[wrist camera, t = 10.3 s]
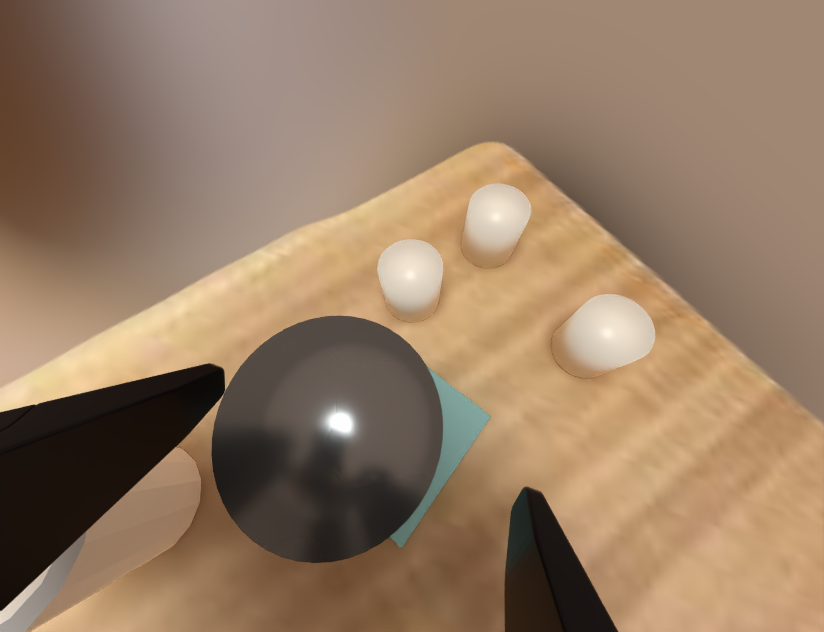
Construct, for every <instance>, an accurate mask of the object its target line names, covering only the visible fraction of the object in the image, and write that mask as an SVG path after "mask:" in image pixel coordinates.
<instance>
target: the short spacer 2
mask: <svg viewBox="0 0 824 632" xmlns="http://www.w3.org/2000/svg"><path fill="white" fill-rule="evenodd" d="M654 341H655V329H654V325H653V322H652V320H651V318H650V317H649V315H648V314H647V313H646V311H645V310H644V309H643V308H642V307H641V306H640V305H638V304H637V303H636V302H634V301H632V300H630V299H628V298H626V297H623V296H620V295H615V294H603V295H598V296H595V297H593V298H591V299H590V300H588V301H587V302H586V303H585V304H584V305H583V306H582V307H580V308H579V309H578V310H577V311H576V312H575V313H574V314H573V315H572V316H571V317H570V318H569V319H567V320H566V321H565V322H564V323H563V324H562V325H561V326H560V327H559V328H558V329H557V330H556V331H555V332H554V334H553V336H552V339H551V351H552V354H553V357H554V359H555V361H556V362H557V363H558V365H559V366H560V367H561V368H562V369H563V370H565V371H566V372H568V373H569V374H571V375H573V376H576V377H580V378H593V377H597V376H599V375H602V374H604V373H607V372H609V371H612V370H614V369H617V368H619V367H622V366H624V365H627V364H629V363H632V362H634V361H636V360H639V359H641V358H643V357H644V356H645V355H647V354H648V353H649V352H650V350H651V349H652V347H653V345H654Z"/></svg>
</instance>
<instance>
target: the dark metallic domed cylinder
mask: <svg viewBox="0 0 824 632" xmlns="http://www.w3.org/2000/svg"><path fill="white" fill-rule="evenodd" d="M442 442H443V416H442V407H441V402H440V398H439V393H438V390H437V388H436V385H435V382H434V379H433V377H432V375H431V373H430V371H429V369H428V367H427V366H426V364H425V363H424V361H423V360H422V358H421V357H420V355H419V354H418V353H417V352H416V351H415V350H414V349H413V348H412V346H411V345H410V344H409V343H407V342H406V341H405V340H404V339H403V338H402V337H400V336H399V335H398V334H396V333H394V332H393V331H391V330H390V329H388V328H386V327H384V326H382V325H380V324H378V323H375V322H372V321H369V320H366V319H362V318H356V317H351V316H326V317H320V318H314V319H310V320H307V321H304V322H300V323H297V324H295V325H293V326H291V327H288V328H286V329H284V330H283V331H281V332H279V333H277V334H276V335H274V336H273V337H271V338H270V339H269V340H267V341H266V342H264V343H263V344H262V345H261V346H260V347H259V348H257V349H256V350H255V351H254V352H253V353H252V354H251V355H250V356H249V357H248V359H247V360H246V361H245V362H244V363H243V364H242V365H241V367H240V368H239V370H238V371H237V373H236V374H235V375H234V377H233V378H232V380H231V382H230V384H229V386H228V388H227V389H226V391H225V393H224V396H223V398H222V401H221V403H220V406H219V409H218V412H217V416H216V419H215V423H214V430H213V437H212V464H213V472H214V477H215V481H216V485H217V489H218V491H219V494H220V497H221V499H222V502H223V504H224V506H225V507H226V509H227V511H228V513H229V514H230V516H231V518H232V519H233V520H234V522H235V523H236V524H237V525H238V527H239V528H240V529H241V530H242V531H243V532H244V533H245V534H246V535H247V536H248V537H249V538H250V539H251V540H252V541H254V542H255V543H257V544H258V545H260V546H261V547H263V548H264V549H266V550H268V551H270V552H272V553H274V554H276V555H279V556H281V557H284V558H288V559H291V560H295V561H301V562H311V563H321V562H333V561H338V560H343V559H347V558H350V557H353V556H356V555H358V554H361V553H364V552H366V551H368V550H370V549H371V548H373V547H375V546H377V545H378V544H380V543H382V542H383V541H384V540H386V539H387V538H388V537H390V536H391V535H392V534H394V533H395V532H396V531H397V530H398V529H399V528H400V527H401V526H402V525H403V524H404V523H405V522H406V521H407V520H408V519H409V518H410V517H411V515H412V514H413V513H414V511H415V510H416V509H417V507H418V506H419V505H420V503H421V501H422V500H423V498H424V496H425V495H426V493H427V491H428V489H429V487H430V485H431V482H432V480H433V478H434V475H435V473H436V469H437V466H438V462H439V459H440V454H441V448H442Z"/></svg>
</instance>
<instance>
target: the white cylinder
mask: <svg viewBox="0 0 824 632" xmlns="http://www.w3.org/2000/svg"><path fill="white" fill-rule="evenodd" d="M200 494H201V477H200V474H199V471H198V468H197V465H196V462H195V461H194V460H193V459H192V458H191V457H190V456H189V455H188V454H187V453H186V452H185V451H184V450H183V449H181V448H177V447H175V448H174V449H173V450H172V451H171V452H170V453H169V454H168V455H167V456H166V457H165V458H164V459H163V460H161V461H160V462H159V463H158V464H157V465H156V466H155V467H154V468H153V469H152V470H151V471H150V472H149V473H148V474H147V475H146V476H145V477H143V478H142V479H141V480H140V481H139V482H138V483H137V484H136V485H135V486H134V487H133V488H132V489H131V490H130V491H129V492H128V493H126V494H125V495H124V496H123V497H122V498H121V499H120V500H119V501H118V502H117V503H116V504H115V505H114V506H113V507H112V508H111V509H110V510H108V511H107V512H106V513H105V514H104V515H103V516H102V517H101V518H100V519H99V520H98V521H97V522H96V523H95V524H94V525H93V526H91V527H90V528H89V529H88V530H87V531H86V532H85V533H84V534H83V535H82V536H81V537H80V538H79V539H78V540H77V541H76V542H74V543H73V544H72V545H71V546H70V547H69V548H68V549H67V550H66V551H65V552H64V553H63V554H62V555H61V556H60V557H59V558H58V559H56V560H55V561H54V562H53V563H52V564H51V565H50V566H49V567H48V568H47V569H46V570H45V571H44V572H43V573H42V574H41V575H39V576H38V577H37V578H36V579H35V580H34V581H33V582H32V583H31V584H30V585H29V586H28V587H27V588H26V589H25V590H24V591H22V592H21V593H20V594H19V595H18V596H17V597H16V598H15V599H14V600H13V601H12V602H11V603H10V604H9V605H8V606H7V607H6V608H4V609H3V610H2V611H0V632H31V631H32V630H34V629H36V628H37V627H39V626H41V625H42V624H44V623H46V622H47V621H49V620H51V619H52V618H54V617H56V616H58V615H59V614H61V613H63V612H64V611H66V610H68V609H69V608H71V607H73V606H74V605H76V604H78V603H79V602H81V601H83V600H85V599H86V598H88V597H90V596H91V595H93V594H95V593H96V592H98V591H100V590H101V589H103V588H105V587H106V586H108V585H110V584H111V583H113V582H115V581H117V580H118V579H120V578H122V577H123V576H125V575H127V574H128V573H130V572H132V571H133V570H135V569H137V568H138V567H140V566H142V565H144V564H145V563H147V562H149V561H150V560H152V559H154V558H155V557H157V556H158V555H160V554H162V553H163V552H165V551H166V550H168V549H169V548H171V547H173V546H174V545H175V544H176V542H177V541H178V540H179V539H180V538H181V536H182V535H183V534H184V533H185V532H186V530H187V529H188V528H189V527H190V525H191V523H192V520H193V518H194V516H195V513H196V511H197V508H198V506H199V504H200Z"/></svg>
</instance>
